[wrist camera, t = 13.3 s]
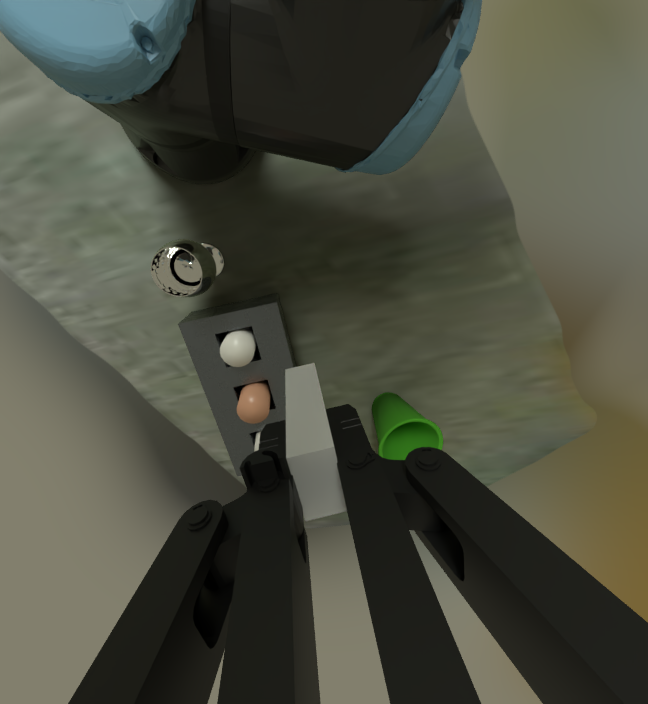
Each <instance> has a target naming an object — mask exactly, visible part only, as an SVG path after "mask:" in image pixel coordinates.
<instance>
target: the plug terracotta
mask: <svg viewBox="0 0 648 704" xmlns="http://www.w3.org/2000/svg"><path fill="white" fill-rule="evenodd" d="M270 395H271V389H270V386H269V383H268V379H267V380H263V381H258V382H254V383H250V384H245V385H243V387H242V390H241V394H240V398H239V401H238V405H237V414H238V416H239V417H240V419H241V420H243V421H244V422H247V423H251V424H255V423H260V422H262V421H263V420H265V419H266V418H267V416H268V414H269V407H270Z"/></svg>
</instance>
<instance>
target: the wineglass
mask: <svg viewBox="0 0 648 704" xmlns="http://www.w3.org/2000/svg"><path fill="white" fill-rule="evenodd" d="M223 267H224V259H223V256H222V254H221V252H220V251H219V250H218V249H217V248H216V247H215V246H213V245H211V244H207V243H201V244H200V243H198V242H195V241H192V240H188V239H178V240H174V241H171V242H169V243H167V244H165V245H164V246H162V247H161V248H160V249H159V250H158V251H157V253H156V254H155V255H154V257H153V259H152V262H151V274H152V277H153V279H154V281H155V283H156V284H157V286H158V287H159V288H160V289H161V290H163V291H164V292H166V293H167V294H170V295H172V296H177V297H194V296H198V295H200V294H202V293H204V292H206V291H207V290H208V289H209V288H210V287H211V286H212V284H213V283H214V281H215V278H216V276H218V275H219V274H220V273H221V272H222V270H223Z"/></svg>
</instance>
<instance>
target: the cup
mask: <svg viewBox="0 0 648 704" xmlns="http://www.w3.org/2000/svg"><path fill="white" fill-rule="evenodd" d="M372 413H373V418H374V423H375V428H376V433H377V438H378V443H379V448H378V454H379V456H381V457H382V458H386V459H391V460H405V458H406V457H407V455H408V453H409V452H411V451H412V450H414V449H416V448H420V447H433V448H437V449H440V450H442V446H443V436H442V432H441V430H440V428H439V427H438V426H437V425H436V424H435V423H433V422H432V421H430V420H427V419H425V418H424V417H423V416H422V415H421V414H419V413H418V412H417V411H416V410H415V409H414V408H412V407H411V406H410V405H409V404H408V403H406V402H405V401H404V400H403V399H402V398H401V397H399V396H398V395H396V394H394V393H383V394H381V395H379V396H378V397H377V398H376V399H375V400H374V402H373V405H372Z"/></svg>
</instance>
